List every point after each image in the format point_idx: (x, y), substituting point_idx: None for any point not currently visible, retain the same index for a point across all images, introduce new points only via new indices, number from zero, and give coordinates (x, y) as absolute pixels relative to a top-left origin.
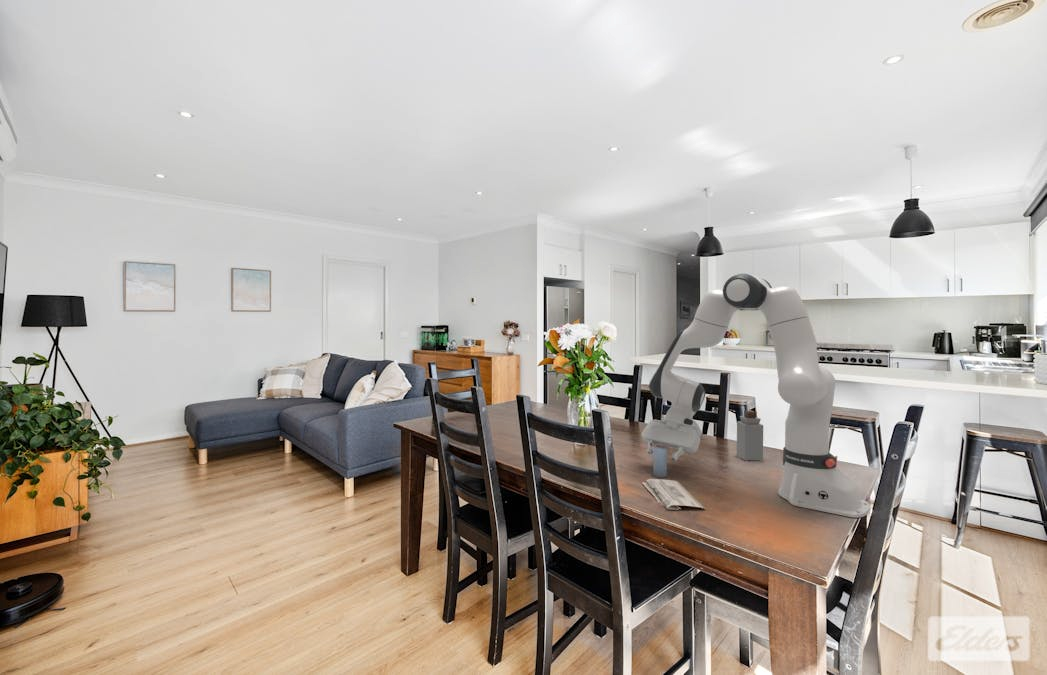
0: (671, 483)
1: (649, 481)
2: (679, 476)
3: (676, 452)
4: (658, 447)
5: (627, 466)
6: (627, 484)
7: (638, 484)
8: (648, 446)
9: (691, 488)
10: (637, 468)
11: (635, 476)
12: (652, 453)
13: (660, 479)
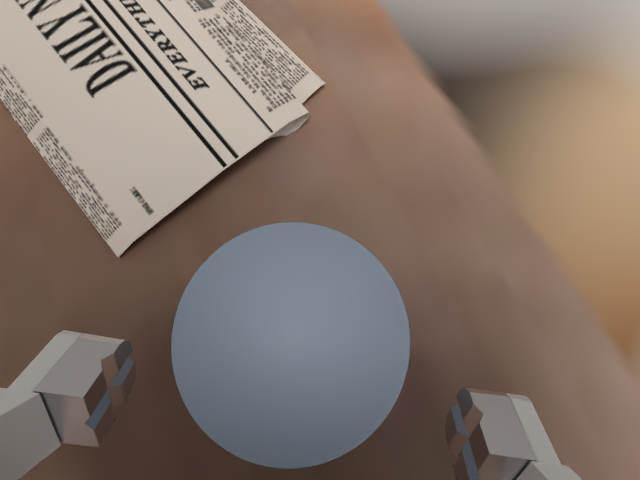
0: (133, 148)
1: (276, 88)
2: (152, 410)
3: (5, 404)
4: (365, 433)
5: (598, 371)
6: (388, 33)
7: (335, 68)
8: (571, 472)
9: (4, 201)
10: (513, 377)
11: (426, 191)
12: (449, 439)
13: (223, 162)
